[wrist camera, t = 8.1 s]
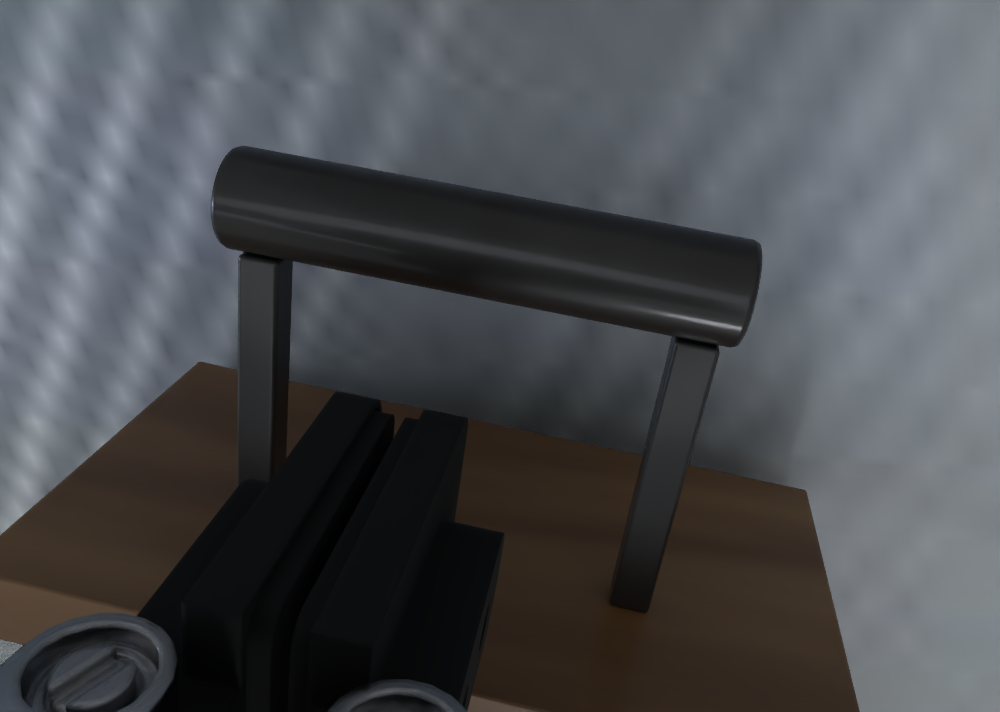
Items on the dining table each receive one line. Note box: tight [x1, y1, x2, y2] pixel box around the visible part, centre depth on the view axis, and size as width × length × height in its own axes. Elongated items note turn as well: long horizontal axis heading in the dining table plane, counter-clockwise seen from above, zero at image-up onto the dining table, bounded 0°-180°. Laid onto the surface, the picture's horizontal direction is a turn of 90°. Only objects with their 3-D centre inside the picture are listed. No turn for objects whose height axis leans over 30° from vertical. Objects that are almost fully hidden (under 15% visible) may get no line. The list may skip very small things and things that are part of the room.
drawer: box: [0, 146, 860, 712], centre depth 17 cm, size 20×13×7 cm, turn 172°
